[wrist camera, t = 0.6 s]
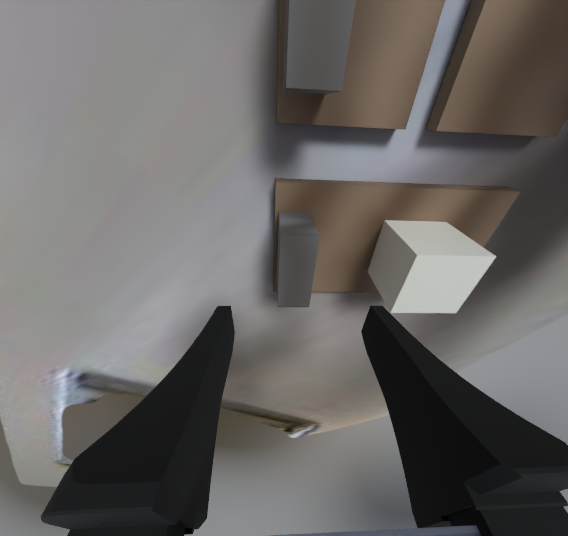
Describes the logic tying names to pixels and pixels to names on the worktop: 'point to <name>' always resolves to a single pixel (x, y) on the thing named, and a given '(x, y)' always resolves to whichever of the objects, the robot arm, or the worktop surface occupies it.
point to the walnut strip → (363, 228)
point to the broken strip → (411, 61)
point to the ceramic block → (426, 266)
